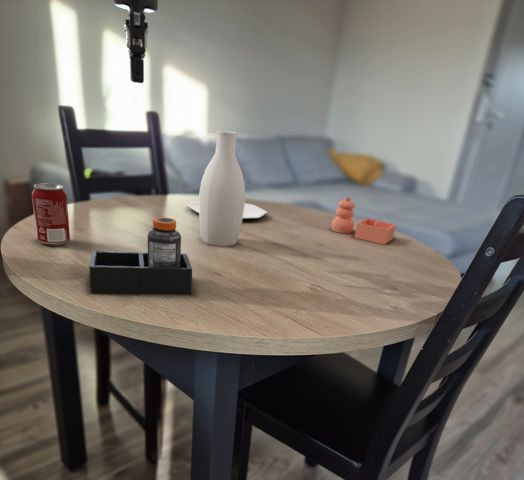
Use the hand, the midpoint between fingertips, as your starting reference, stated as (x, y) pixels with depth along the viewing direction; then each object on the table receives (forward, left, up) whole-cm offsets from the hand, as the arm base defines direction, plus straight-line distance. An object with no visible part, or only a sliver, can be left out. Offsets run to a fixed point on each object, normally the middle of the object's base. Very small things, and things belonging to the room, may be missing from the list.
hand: (136, 82), depth 90 cm
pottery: (+65, +25, -33) cm, 77 cm away
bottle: (+20, +12, -33) cm, 41 cm away
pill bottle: (+4, -19, -32) cm, 38 cm away
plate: (+28, +44, -33) cm, 62 cm away
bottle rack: (0, -19, -33) cm, 38 cm away
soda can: (-18, +6, -33) cm, 38 cm away
